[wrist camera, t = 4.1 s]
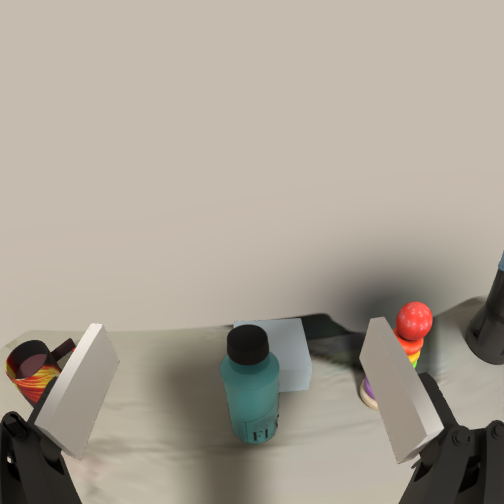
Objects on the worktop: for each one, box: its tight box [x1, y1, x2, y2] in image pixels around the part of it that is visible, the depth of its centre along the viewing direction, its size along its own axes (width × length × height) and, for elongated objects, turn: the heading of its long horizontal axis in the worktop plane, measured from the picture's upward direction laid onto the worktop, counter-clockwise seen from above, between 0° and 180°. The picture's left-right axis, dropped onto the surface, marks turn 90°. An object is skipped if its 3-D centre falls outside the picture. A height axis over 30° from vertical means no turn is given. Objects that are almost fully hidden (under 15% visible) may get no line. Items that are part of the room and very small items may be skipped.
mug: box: [5, 338, 76, 408], centre depth 33 cm, size 10×14×12 cm
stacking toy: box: [360, 302, 432, 410], centre depth 33 cm, size 8×8×19 cm
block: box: [234, 318, 312, 393], centre depth 44 cm, size 12×12×6 cm
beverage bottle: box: [220, 324, 280, 444], centre depth 29 cm, size 6×7×20 cm
